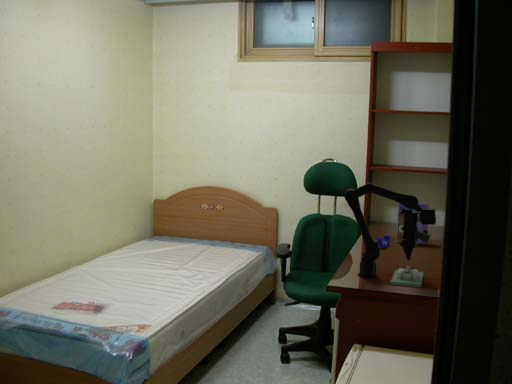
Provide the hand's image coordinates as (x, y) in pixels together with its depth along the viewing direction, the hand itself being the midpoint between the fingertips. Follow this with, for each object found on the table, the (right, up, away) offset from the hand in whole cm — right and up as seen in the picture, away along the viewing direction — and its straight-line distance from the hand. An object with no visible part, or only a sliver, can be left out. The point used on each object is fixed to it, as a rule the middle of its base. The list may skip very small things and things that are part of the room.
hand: (408, 260), depth 231 cm
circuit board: (-1, -8, -2) cm, 8 cm away
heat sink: (-1, -7, -1) cm, 7 cm away
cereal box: (+28, -2, +93) cm, 97 cm away
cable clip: (+8, -3, +78) cm, 78 cm away
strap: (-1, -4, -2) cm, 5 cm away
